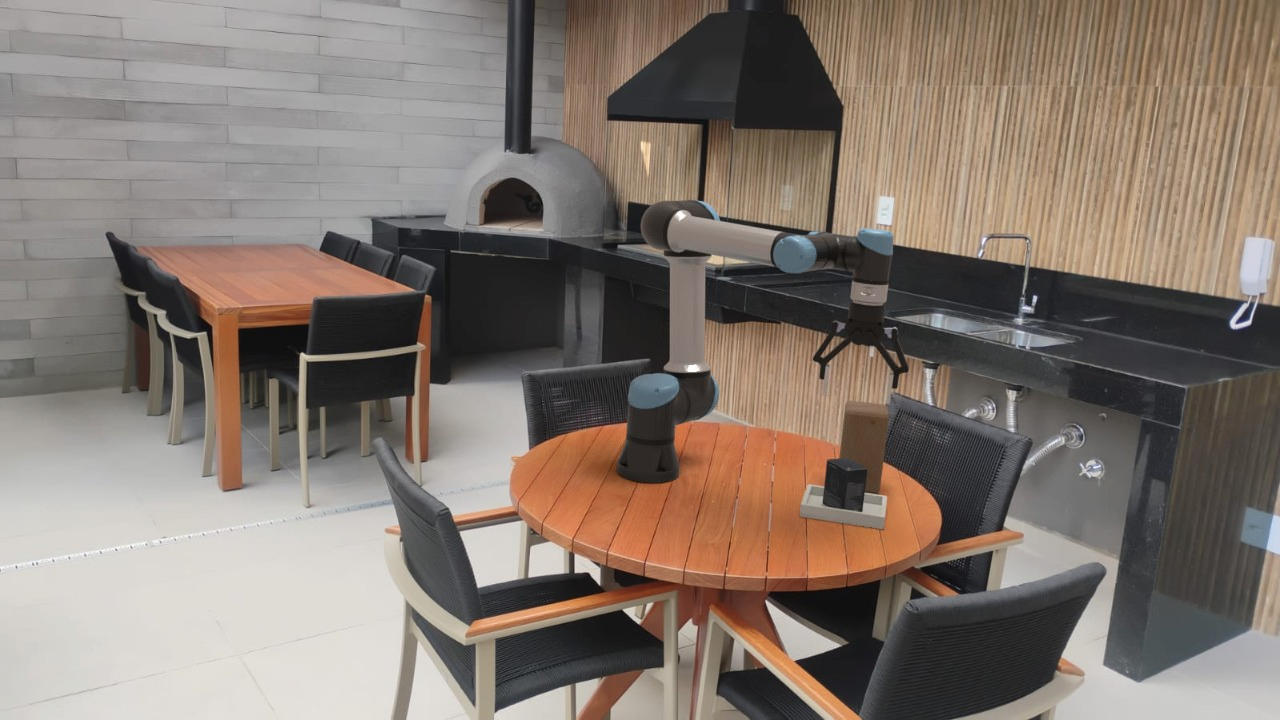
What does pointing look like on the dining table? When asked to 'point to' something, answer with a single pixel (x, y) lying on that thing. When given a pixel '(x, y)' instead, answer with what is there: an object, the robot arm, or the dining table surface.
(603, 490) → the dining table surface
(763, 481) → the dining table surface
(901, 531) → the dining table surface
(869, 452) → the wooden block
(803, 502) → the tray
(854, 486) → the box
